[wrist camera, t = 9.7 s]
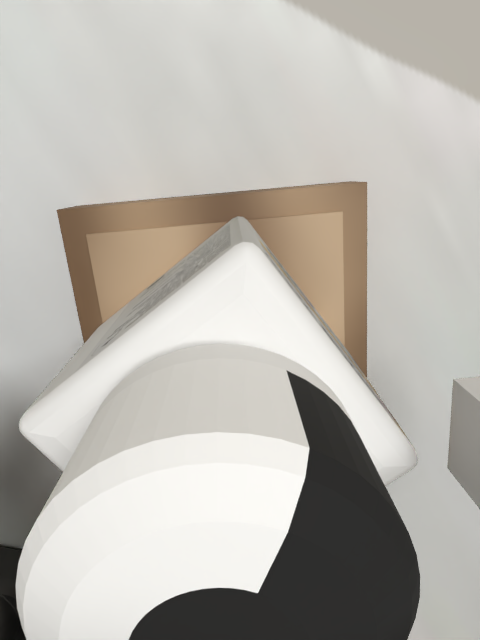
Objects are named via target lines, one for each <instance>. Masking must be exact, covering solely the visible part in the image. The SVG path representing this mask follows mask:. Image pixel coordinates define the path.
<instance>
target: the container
mask: <svg viewBox="0 0 480 640" xmlns="http://www.w3.org/2000/svg"><path fill="white" fill-rule="evenodd" d="M19 430H20V432H21V433H22V435H23V436H24V437H25V438H26V439H27V440H29V441H30V442H31V443H32V444H33V445H34V446H35V447H36V448H37V449H38V450H39V451H41V452H42V453H43V454H44V455H45V456H46V457H47V458H48V459H49V460H50V461H51V462H53V463H54V464H55V465H56V466H57V467H58V468H59V469H60V470H61V471H62V472H63V473H62V475H61V477H60V479H59V481H58V482H57V484H56V486H55V488H54V490H53V491H52V493H51V495H50V497H49V499H48V500H47V502H46V504H45V506H44V507H43V509H42V511H41V513H40V515H39V516H38V518H37V520H36V522H35V524H34V526H33V528H32V529H31V531H30V533H29V535H28V537H27V539H26V541H25V543H24V547H23V550H22V553H21V556H20V559H19V562H18V569H17V577H16V585H15V586H16V601H17V610H18V614H19V618H20V622H21V626H22V629H23V632H24V635H25V637H26V640H407V639H408V636H409V633H410V631H411V628H412V626H413V623H414V620H415V618H416V613H417V608H418V603H419V598H420V573H419V567H418V561H417V555H416V552H415V549H414V546H413V544H412V541H411V538H410V535H409V533H408V531H407V529H406V527H405V525H404V523H403V521H402V519H401V517H400V515H399V513H398V511H397V509H396V507H395V505H394V503H393V501H392V499H391V497H390V495H389V493H388V491H387V489H386V487H385V486H387V485H388V484H390V483H391V482H393V481H395V480H396V479H398V478H399V477H401V476H402V475H404V474H406V473H407V472H409V471H410V470H412V469H413V468H414V467H415V466H416V464H417V461H418V458H417V454H416V451H415V448H414V447H413V445H412V444H411V442H410V441H409V439H408V438H407V437H406V435H405V434H404V432H403V431H402V429H401V428H400V426H399V425H398V423H397V422H396V420H395V419H394V418H393V416H392V415H391V413H390V412H389V410H388V409H387V407H386V406H385V404H384V403H383V401H382V400H381V399H380V397H379V396H378V394H377V393H376V391H375V390H374V388H373V387H372V385H371V384H370V382H369V381H368V380H367V378H366V377H365V375H364V374H363V372H362V371H361V369H360V368H359V366H358V365H357V363H356V362H355V361H354V359H353V358H352V356H351V355H350V353H349V352H348V351H347V349H346V348H345V347H344V345H343V344H342V343H341V341H340V340H339V339H338V338H337V336H336V335H335V334H334V332H333V331H332V330H331V328H330V327H329V326H328V324H327V323H326V322H325V321H324V319H323V318H322V317H321V315H320V314H319V313H318V311H317V310H316V309H315V308H314V306H313V305H312V304H311V302H310V301H309V300H308V298H307V297H306V296H305V295H304V293H303V292H302V291H301V289H300V288H299V287H298V285H297V284H296V283H295V281H294V280H293V279H292V278H291V276H290V275H289V274H288V272H287V271H286V270H285V268H284V267H283V266H282V265H281V263H280V262H279V261H278V259H277V258H276V257H275V255H274V254H273V253H272V252H271V250H270V249H269V248H268V246H267V245H266V244H265V242H264V241H263V240H262V238H261V237H260V236H259V235H258V233H257V232H256V231H255V229H254V228H253V227H252V225H251V224H250V223H249V222H248V220H246V219H245V218H244V217H239V216H237V217H235V218H233V219H231V220H230V221H229V222H228V223H226V224H225V225H224V226H223V227H221V228H220V229H219V230H218V231H217V232H215V233H214V234H213V235H212V236H210V237H209V238H208V239H207V240H205V241H204V242H203V243H202V244H200V245H199V246H198V247H197V248H196V249H194V250H193V251H192V252H191V253H189V254H188V255H187V256H186V257H184V258H183V259H182V260H181V261H179V262H178V263H177V264H176V265H175V266H173V267H172V268H171V269H170V270H168V271H167V272H166V273H165V274H163V275H162V276H161V277H160V278H158V279H157V280H156V281H155V282H154V283H152V284H151V285H150V286H149V287H147V288H146V289H145V290H144V291H142V292H141V293H140V294H139V295H137V296H136V297H135V298H134V299H133V300H131V301H130V302H129V303H128V304H126V305H125V306H124V307H123V308H121V309H120V310H119V311H118V312H116V313H115V314H114V315H113V316H112V317H110V318H109V319H108V320H107V321H105V322H104V323H103V324H102V325H100V326H99V327H98V328H97V329H96V331H95V332H94V333H93V334H92V335H91V336H90V337H89V339H88V340H87V341H86V342H85V343H84V344H83V346H82V347H81V348H80V349H79V350H78V351H77V353H76V354H75V355H74V356H73V357H72V358H71V360H70V361H69V362H68V363H67V364H66V365H65V366H64V368H63V369H62V370H61V371H60V372H59V373H58V375H57V376H56V377H55V378H54V379H53V380H52V382H51V383H50V384H49V385H48V386H47V387H46V388H45V390H44V391H43V392H42V393H41V394H40V395H39V397H38V398H37V399H36V400H35V401H34V402H33V404H32V405H31V406H30V407H29V408H28V409H27V410H26V412H25V413H24V414H23V416H22V417H21V419H20V422H19Z"/></svg>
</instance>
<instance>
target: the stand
mask: <svg viewBox="0 0 480 640" xmlns="http://www.w3.org/2000/svg"><path fill="white" fill-rule="evenodd" d="M57 213H58V218H59V223H60V228H61V233H62V238H63V243H64V248H65V252H66V257H67V262H68V267H69V272H70V277H71V282H72V286H73V291H74V296H75V301H76V306H77V311H78V316H79V321H80V325H81V330H82V335H83V340H84V343H85V342H86V341H87V340H88V339H89V337H90V336H91V335H92V334H93V333H94V332H95V331H96V329H97V328H98V327H99V326H100V325H102V324H103V323H104V322H105V321H107V320H108V319H109V318H110V317H112V316H113V315H114V314H115V313H116V312H118V311H119V310H120V309H121V308H123V307H124V306H125V305H126V304H128V303H129V302H130V301H131V300H133V299H134V298H135V297H136V296H137V295H139V294H140V293H141V292H142V291H144V290H145V289H146V288H147V287H149V286H150V285H151V284H152V283H154V282H155V281H156V280H157V279H158V278H160V277H161V276H162V275H163V274H165V273H166V272H167V271H168V270H170V269H171V268H172V267H173V266H175V265H176V264H177V263H178V262H179V261H181V260H182V259H183V258H184V257H186V256H187V255H188V254H189V253H191V252H192V251H193V250H194V249H196V248H197V247H198V246H199V245H200V244H202V243H203V242H204V241H205V240H207V239H208V238H209V237H210V236H212V235H213V234H214V233H215V232H217V231H218V230H219V229H220V228H221V227H223V226H224V225H225V224H226V223H228V222H229V221H230V220H231V219H233V218H235V217H237V216H239V217H244V218H245V219H246V220H248V222H249V223H250V224H251V225H252V227H253V228H254V229H255V231H256V232H257V233H258V235H259V236H260V237H261V238H262V240H263V241H264V242H265V244H266V245H267V246H268V248H269V249H270V250H271V252H272V253H273V254H274V255H275V257H276V258H277V259H278V261H279V262H280V263H281V265H282V266H283V267H284V268H285V270H286V271H287V272H288V274H289V275H290V276H291V278H292V279H293V280H294V281H295V283H296V284H297V285H298V287H299V288H300V289H301V291H302V292H303V293H304V295H305V296H306V297H307V298H308V300H309V301H310V302H311V304H312V305H313V306H314V308H315V309H316V310H317V311H318V313H319V314H320V315H321V317H322V318H323V319H324V321H325V322H326V323H327V324H328V326H329V327H330V328H331V330H332V331H333V332H334V334H335V335H336V336H337V338H338V339H339V340H340V341H341V343H342V344H343V345H344V347H345V348H346V349H347V351H348V352H349V353H350V355H351V356H352V358H353V359H354V361H355V362H356V363H357V365H358V366H359V368H360V369H361V371H362V372H363V374H364V375H365V377H366V378H367V182H339V183H328V184H317V185H306V186H294V187H283V188H272V189H261V190H250V191H238V192H227V193H216V194H205V195H194V196H183V197H171V198H160V199H149V200H138V201H127V202H116V203H104V204H93V205H82V206H74V207H69V208H64V209H59V210H57Z"/></svg>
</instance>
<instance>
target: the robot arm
mask: <svg viewBox="0 0 480 640" xmlns="http://www.w3.org/2000/svg"><path fill="white" fill-rule="evenodd" d="M448 469H449V470H450V472H451V473H452V474H453V476H454V477H455V478H456V479H457V481H458V482H459V483H460V484H461V486H462V487H463V488H464V490H465V491H466V492H467V493H468V495H469V496H470V497H471V498H472V500H473V501H474V502H475V504H476V505H477V506H478V507H479V509H480V376H479V377H469V378H459V379H453V392H452V407H451V423H450V438H449V454H448ZM21 553H22V551H20V550H16V549H11V548H6V547H0V640H26V637H25V635H24V632H23V629H22V626H21V622H20V618H19V614H18V610H17V601H16V586H15V585H16V577H17V569H18V562H19V559H20V556H21Z"/></svg>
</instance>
